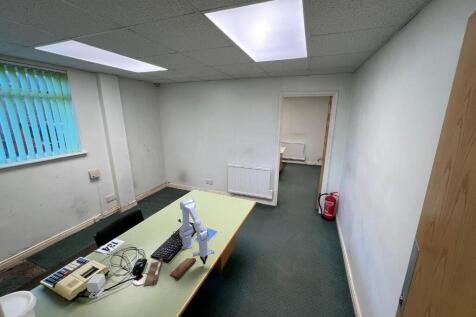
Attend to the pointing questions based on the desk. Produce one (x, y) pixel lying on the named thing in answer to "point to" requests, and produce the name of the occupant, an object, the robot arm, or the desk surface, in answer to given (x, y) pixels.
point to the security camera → (96, 285)
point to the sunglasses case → (182, 268)
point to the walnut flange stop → (153, 273)
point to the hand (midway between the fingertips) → (204, 263)
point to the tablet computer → (210, 233)
